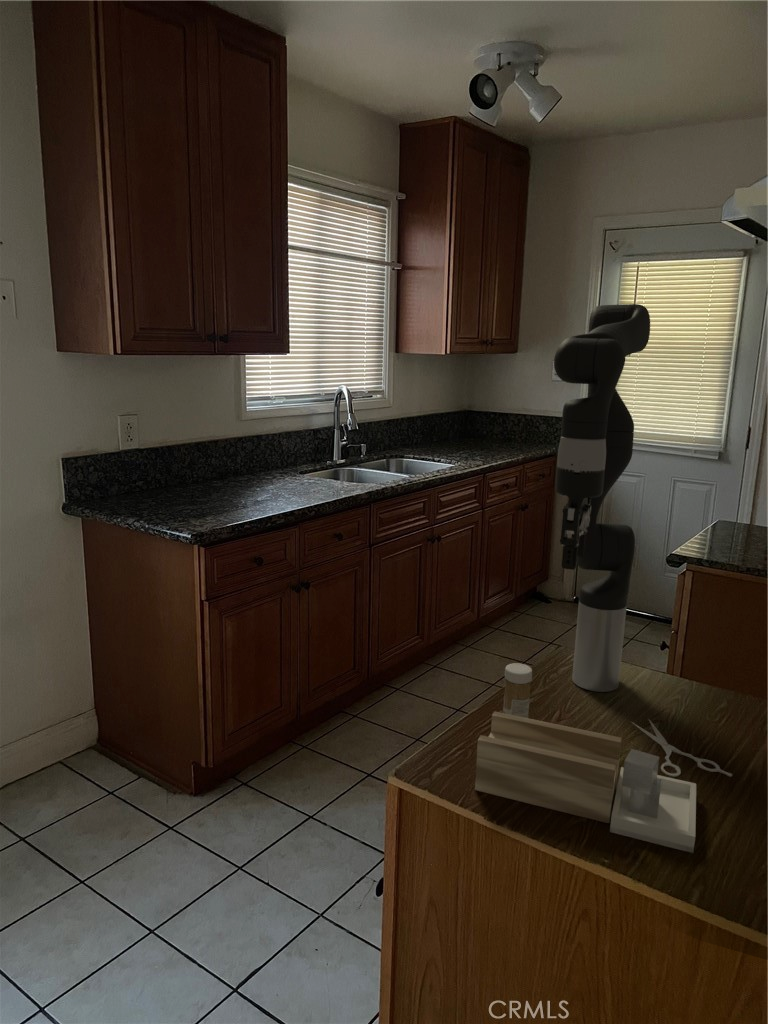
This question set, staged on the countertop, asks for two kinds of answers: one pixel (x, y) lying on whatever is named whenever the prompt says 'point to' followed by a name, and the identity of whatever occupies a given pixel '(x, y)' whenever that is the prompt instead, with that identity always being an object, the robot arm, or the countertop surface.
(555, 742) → the channel
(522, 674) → the sprinkles bottle
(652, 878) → the countertop surface
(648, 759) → the grey cube
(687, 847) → the tray
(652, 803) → the dark grey cube
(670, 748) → the scissors
